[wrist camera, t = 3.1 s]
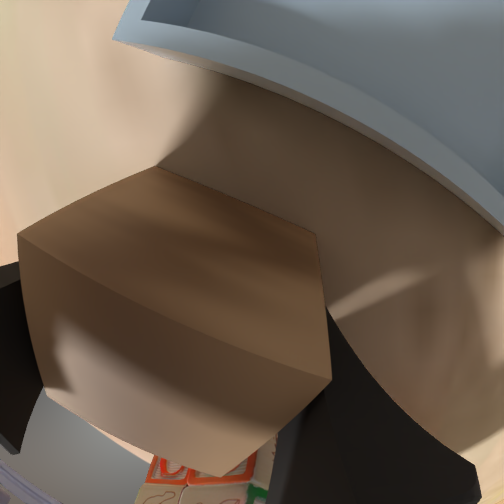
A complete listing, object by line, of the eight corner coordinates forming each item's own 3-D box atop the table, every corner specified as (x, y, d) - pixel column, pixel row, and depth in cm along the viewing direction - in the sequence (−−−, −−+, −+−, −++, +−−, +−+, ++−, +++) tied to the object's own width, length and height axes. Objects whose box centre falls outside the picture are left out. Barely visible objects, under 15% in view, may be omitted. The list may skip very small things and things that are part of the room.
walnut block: (315, 234, 9) (332, 380, 4) (249, 349, 12) (220, 477, 7) (154, 166, 9) (16, 233, 4) (126, 294, 12) (47, 396, 6)
